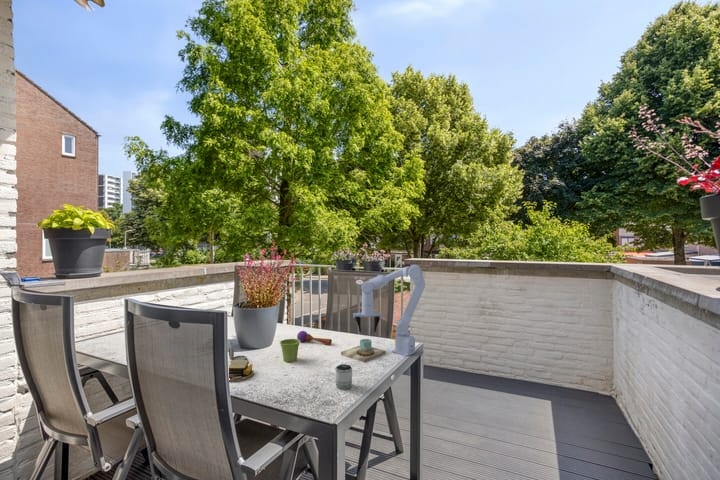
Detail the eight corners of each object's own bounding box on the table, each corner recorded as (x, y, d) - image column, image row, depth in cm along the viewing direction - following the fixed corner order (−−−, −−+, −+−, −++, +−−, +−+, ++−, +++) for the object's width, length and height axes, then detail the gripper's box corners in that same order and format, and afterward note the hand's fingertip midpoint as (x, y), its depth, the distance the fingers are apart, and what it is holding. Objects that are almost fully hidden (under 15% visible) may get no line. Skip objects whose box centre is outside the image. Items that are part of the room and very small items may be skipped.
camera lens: (339, 382, 136) (340, 362, 136) (354, 384, 133) (354, 364, 133) (332, 388, 130) (332, 367, 130) (347, 391, 127) (347, 370, 127)
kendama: (327, 339, 181) (294, 332, 188) (327, 350, 182) (295, 342, 189) (332, 334, 186) (300, 328, 193) (332, 344, 187) (301, 338, 195)
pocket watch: (249, 358, 162) (249, 337, 162) (236, 364, 154) (236, 342, 154) (236, 356, 165) (236, 335, 166) (222, 362, 158) (222, 340, 158)
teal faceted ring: (373, 348, 173) (373, 340, 173) (366, 351, 169) (366, 342, 169) (365, 346, 177) (365, 338, 177) (357, 348, 173) (357, 340, 173)
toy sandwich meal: (215, 382, 136) (215, 370, 136) (230, 369, 149) (230, 358, 149) (246, 383, 135) (246, 371, 135) (258, 370, 149) (258, 359, 149)
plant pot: (275, 360, 160) (275, 341, 160) (292, 355, 167) (292, 337, 167) (287, 365, 154) (287, 345, 154) (304, 359, 161) (304, 341, 161)
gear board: (385, 353, 170) (385, 342, 170) (364, 362, 158) (364, 350, 158) (362, 347, 180) (362, 336, 180) (340, 354, 168) (341, 343, 168)
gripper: (380, 303, 180) (380, 329, 180) (352, 303, 179) (352, 329, 179) (382, 305, 173) (382, 332, 173) (353, 306, 172) (353, 333, 172)
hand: (367, 331), depth 176 cm, fingers open, 7 cm apart
